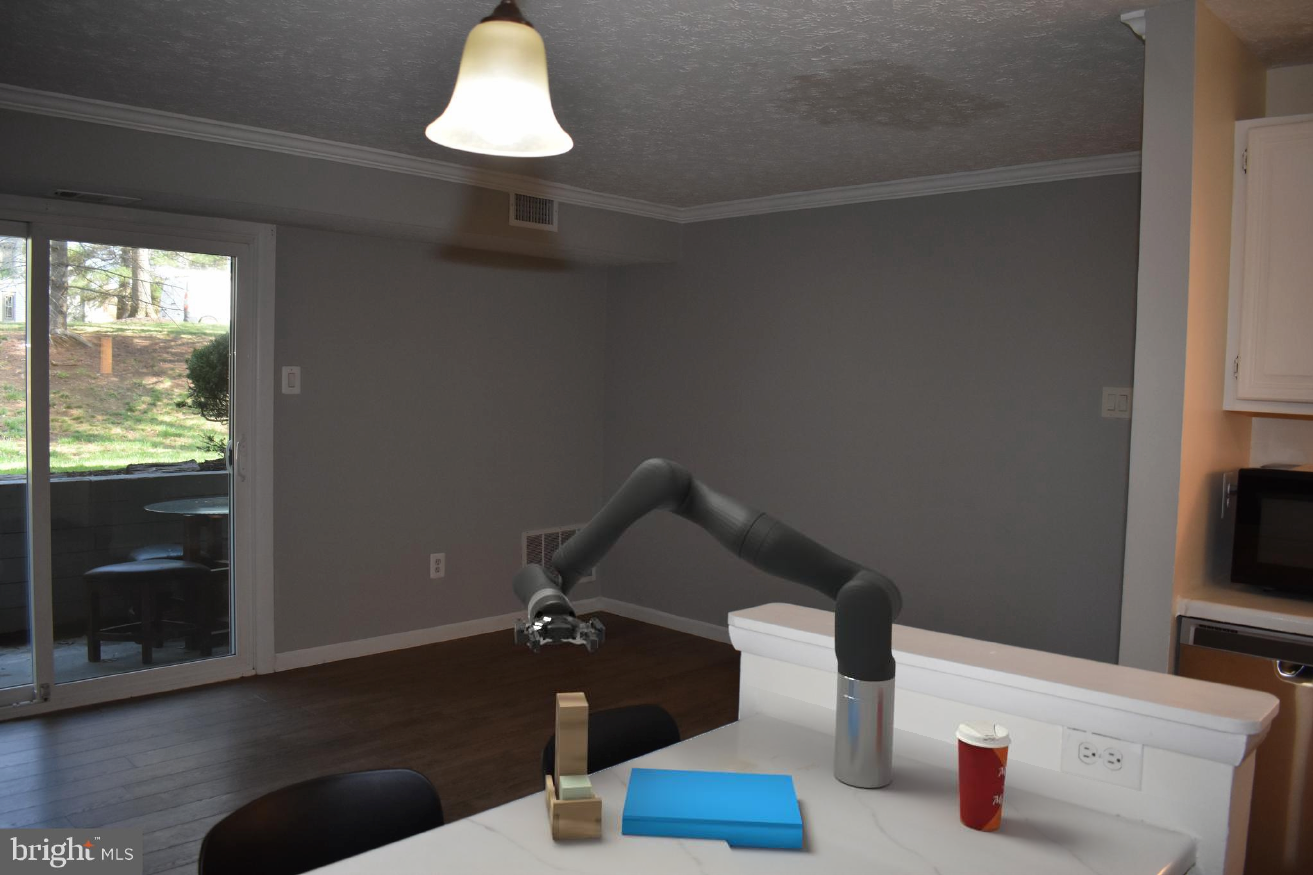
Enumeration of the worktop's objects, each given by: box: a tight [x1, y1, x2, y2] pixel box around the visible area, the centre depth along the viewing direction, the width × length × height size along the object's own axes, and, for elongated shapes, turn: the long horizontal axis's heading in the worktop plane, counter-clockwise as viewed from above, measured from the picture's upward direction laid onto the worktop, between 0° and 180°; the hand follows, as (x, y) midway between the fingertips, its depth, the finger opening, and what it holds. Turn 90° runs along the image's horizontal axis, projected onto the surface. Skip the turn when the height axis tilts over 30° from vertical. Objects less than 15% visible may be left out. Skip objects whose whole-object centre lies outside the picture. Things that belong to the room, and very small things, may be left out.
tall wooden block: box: [554, 691, 589, 800], centre depth 135 cm, size 6×4×16 cm, turn 11°
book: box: [621, 767, 803, 850], centre depth 135 cm, size 17×4×25 cm
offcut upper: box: [559, 774, 592, 800], centre depth 129 cm, size 4×4×3 cm
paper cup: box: [955, 720, 1012, 832], centre depth 135 cm, size 8×8×14 cm
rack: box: [544, 774, 603, 841], centre depth 132 cm, size 13×7×6 cm, turn 11°
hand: (565, 645), depth 143 cm, fingers open, 8 cm apart
